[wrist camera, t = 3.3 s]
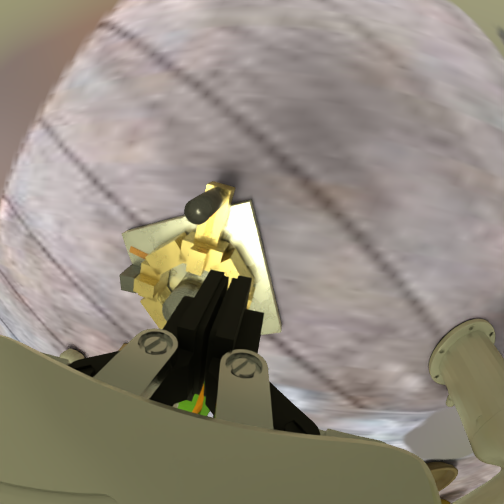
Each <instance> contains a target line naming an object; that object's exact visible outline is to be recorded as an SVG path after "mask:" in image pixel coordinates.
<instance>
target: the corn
mask: <svg viewBox="0 0 504 504" xmlns="http://www.w3.org/2000/svg"><path fill="white" fill-rule="evenodd" d="M204 383H205V381H204ZM205 401H206V397H205V396H204V384H203V387H202V390H201V393H200V395H197V394H194V397H193V399H192V402H191V401H188V400H185V401H182V402H179V403H178V409H182V410H185V411H189V412H192V413H196V414H200V415H204V416H207V415H208V413H209V412H210V410H209V409H208V407H207V406H206V405H205Z"/></svg>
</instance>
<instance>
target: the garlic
mask: <svg viewBox="0 0 504 504" xmlns="http://www.w3.org/2000/svg"><path fill="white" fill-rule="evenodd" d="M60 358H64V359H68V360H69V362H70V363H72V362H73V361H76V360H79V359H84V356H83V355H82V354H81V353H79V352H78V351H76V350H74V349H68V350H66V351H64V352H63V353H62V354H61V355H60Z"/></svg>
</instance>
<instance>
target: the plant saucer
mask: <svg viewBox="0 0 504 504" xmlns="http://www.w3.org/2000/svg"><path fill="white" fill-rule="evenodd" d="M426 465H427V466H428V468H429V469H430V471H431V473H432V475H433V478H434V480H435V483H436V486H437V489H438V492H439V491H441V490H442V489H444V488H445V487H446V486H448V485H449V484H450V483H451V482H452V481H453V480H454V479H455V478H456V476H457V474H458V470H457V468H456V467H454V466H453V465H450V464H446V463H444V462H430V463H426Z"/></svg>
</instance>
